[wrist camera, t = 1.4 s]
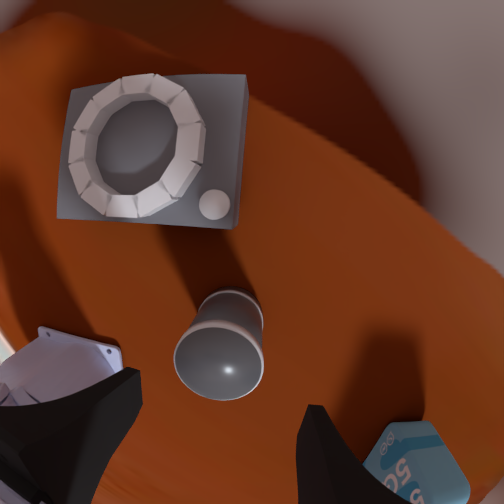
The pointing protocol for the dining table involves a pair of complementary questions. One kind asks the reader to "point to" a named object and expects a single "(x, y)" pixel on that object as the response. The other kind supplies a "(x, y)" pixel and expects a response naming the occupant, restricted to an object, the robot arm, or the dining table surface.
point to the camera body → (155, 150)
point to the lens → (223, 346)
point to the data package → (417, 465)
